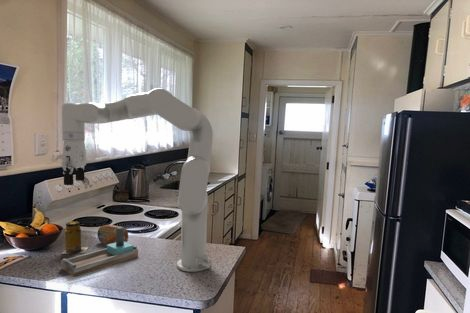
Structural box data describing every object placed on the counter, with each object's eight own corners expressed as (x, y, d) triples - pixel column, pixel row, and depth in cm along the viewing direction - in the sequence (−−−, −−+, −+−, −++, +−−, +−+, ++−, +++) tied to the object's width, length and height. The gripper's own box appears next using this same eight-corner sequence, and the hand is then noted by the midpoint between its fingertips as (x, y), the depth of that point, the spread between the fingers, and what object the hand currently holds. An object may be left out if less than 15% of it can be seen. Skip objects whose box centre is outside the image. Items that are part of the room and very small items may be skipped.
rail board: (138, 256, 143) (138, 247, 143) (74, 276, 123) (74, 266, 123) (123, 250, 150) (123, 241, 149) (61, 268, 130) (61, 258, 130)
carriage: (133, 252, 143) (133, 228, 142) (117, 257, 137) (117, 232, 136) (122, 247, 148) (122, 224, 147) (106, 252, 142) (106, 227, 141)
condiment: (68, 247, 151) (67, 220, 150) (88, 247, 152) (88, 220, 151) (61, 254, 144) (60, 225, 143) (83, 253, 145) (82, 225, 144)
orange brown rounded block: (97, 243, 158) (96, 224, 157) (101, 240, 161) (101, 222, 160) (125, 247, 153) (125, 228, 152) (129, 245, 156) (129, 226, 155)
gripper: (73, 138, 122) (74, 187, 124) (92, 136, 140) (93, 179, 141) (51, 137, 122) (53, 186, 124) (73, 135, 139) (74, 178, 141)
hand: (74, 182), depth 132 cm, fingers open, 9 cm apart
